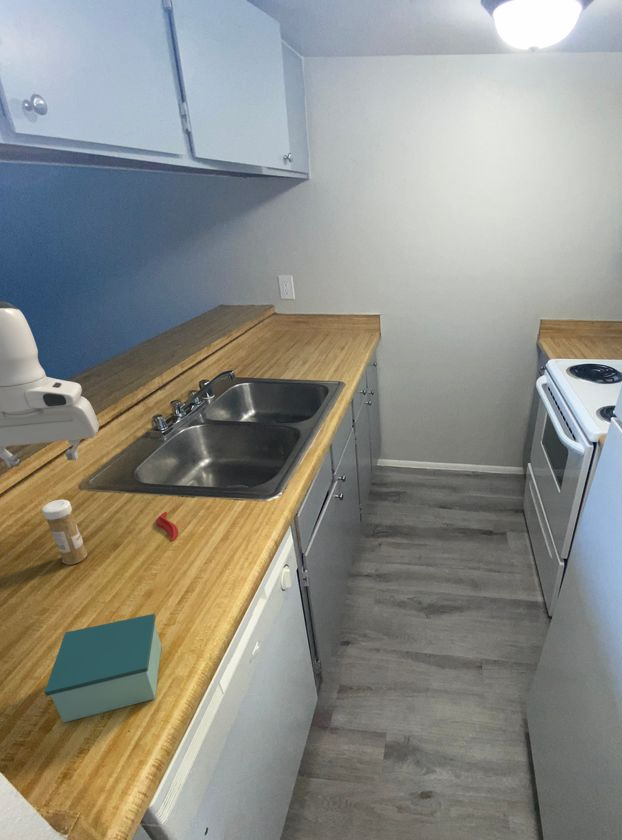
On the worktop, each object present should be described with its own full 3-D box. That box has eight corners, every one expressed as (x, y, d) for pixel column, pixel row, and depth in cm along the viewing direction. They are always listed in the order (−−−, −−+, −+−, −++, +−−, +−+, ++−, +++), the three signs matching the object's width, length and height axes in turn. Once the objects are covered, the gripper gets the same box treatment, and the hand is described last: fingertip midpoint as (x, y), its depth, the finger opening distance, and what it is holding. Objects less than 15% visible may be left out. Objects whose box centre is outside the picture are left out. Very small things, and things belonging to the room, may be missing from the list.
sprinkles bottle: (92, 556, 99) (73, 504, 93) (68, 568, 96) (47, 514, 89) (81, 548, 101) (63, 495, 95) (58, 559, 98) (37, 506, 92)
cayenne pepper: (156, 514, 113) (155, 508, 112) (177, 510, 114) (176, 504, 113) (155, 545, 103) (153, 538, 102) (178, 540, 105) (176, 533, 104)
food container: (60, 725, 68) (44, 692, 64) (78, 664, 77) (65, 632, 73) (157, 700, 72) (146, 667, 68) (163, 644, 81) (154, 613, 77)
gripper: (-63, 406, 77) (-31, 478, 83) (81, 395, 83) (101, 463, 90) (-45, 392, 82) (-16, 461, 88) (90, 383, 88) (108, 448, 95)
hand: (44, 462), depth 89 cm, fingers open, 8 cm apart
